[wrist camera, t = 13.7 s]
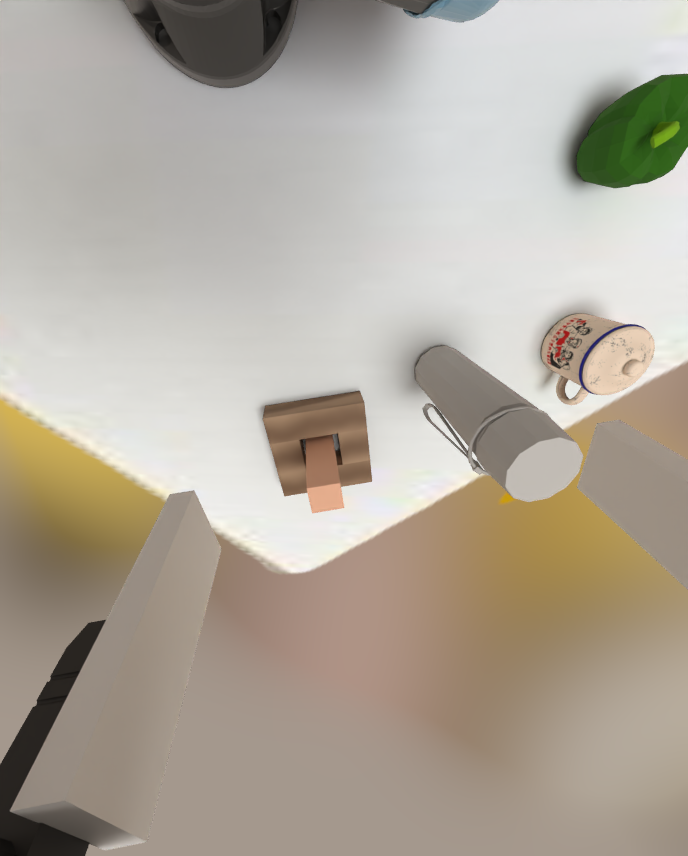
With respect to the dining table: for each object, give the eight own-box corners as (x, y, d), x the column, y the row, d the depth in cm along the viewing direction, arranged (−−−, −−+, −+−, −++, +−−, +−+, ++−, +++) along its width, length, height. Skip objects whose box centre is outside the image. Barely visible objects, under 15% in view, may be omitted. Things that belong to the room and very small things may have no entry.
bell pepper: (646, 92, 36) (756, 45, 27) (625, 185, 40) (715, 171, 31) (570, 106, 35) (656, 64, 27) (557, 198, 40) (629, 187, 31)
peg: (305, 429, 51) (306, 488, 39) (330, 425, 51) (340, 483, 39) (309, 450, 53) (312, 513, 41) (334, 446, 53) (344, 507, 41)
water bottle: (434, 331, 46) (553, 414, 24) (472, 362, 49) (608, 460, 27) (392, 383, 49) (464, 497, 28) (430, 409, 52) (522, 530, 30)
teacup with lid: (560, 303, 46) (632, 322, 36) (611, 319, 48) (693, 341, 38) (517, 383, 51) (570, 418, 41) (565, 394, 53) (626, 430, 43)
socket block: (265, 405, 49) (262, 418, 45) (359, 391, 49) (364, 402, 46) (285, 480, 56) (284, 496, 52) (367, 466, 56) (372, 481, 53)
